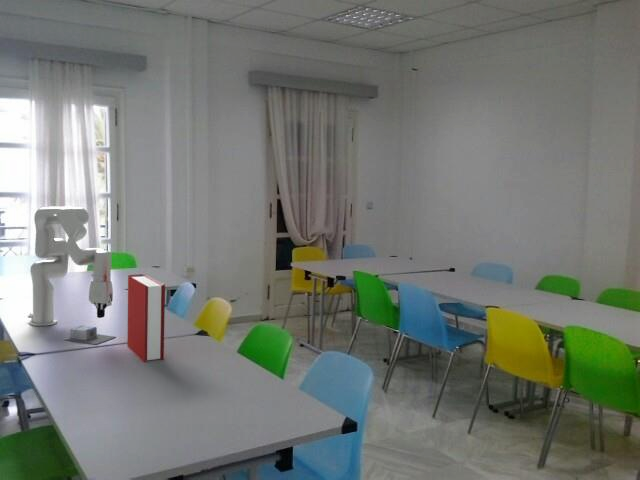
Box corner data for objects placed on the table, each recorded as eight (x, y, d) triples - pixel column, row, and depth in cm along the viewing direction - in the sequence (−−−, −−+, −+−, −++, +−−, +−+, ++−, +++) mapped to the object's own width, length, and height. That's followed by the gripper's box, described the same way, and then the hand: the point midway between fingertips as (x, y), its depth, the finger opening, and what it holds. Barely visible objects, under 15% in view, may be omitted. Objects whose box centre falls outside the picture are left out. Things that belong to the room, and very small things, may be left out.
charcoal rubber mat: (64, 340, 272) (64, 339, 272) (85, 333, 286) (85, 332, 286) (96, 345, 267) (96, 344, 267) (115, 337, 280) (116, 336, 280)
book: (163, 359, 250) (164, 284, 247) (144, 362, 246) (145, 285, 243) (144, 343, 273) (145, 274, 270) (126, 345, 269) (127, 275, 265)
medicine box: (86, 330, 272) (70, 328, 274) (86, 340, 272) (69, 338, 274) (97, 327, 280) (80, 325, 282) (96, 336, 280) (80, 334, 282)
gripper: (82, 277, 271) (81, 316, 273) (110, 281, 266) (109, 321, 268) (93, 274, 278) (92, 313, 280) (120, 278, 273) (119, 317, 275)
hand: (100, 317), depth 274 cm, fingers closed
